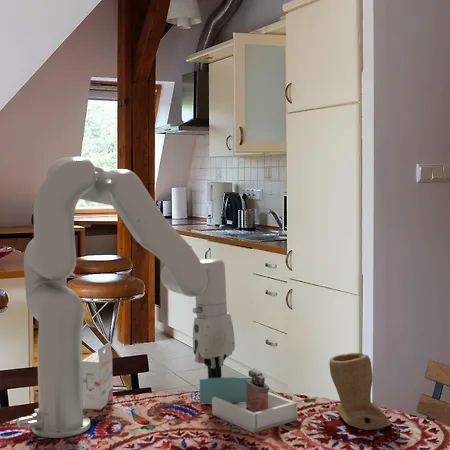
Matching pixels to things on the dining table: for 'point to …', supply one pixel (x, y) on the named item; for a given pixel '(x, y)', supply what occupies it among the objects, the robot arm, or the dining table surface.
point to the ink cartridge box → (97, 378)
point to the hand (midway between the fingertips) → (215, 382)
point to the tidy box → (256, 413)
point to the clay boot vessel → (356, 391)
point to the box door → (223, 389)
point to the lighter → (256, 392)
